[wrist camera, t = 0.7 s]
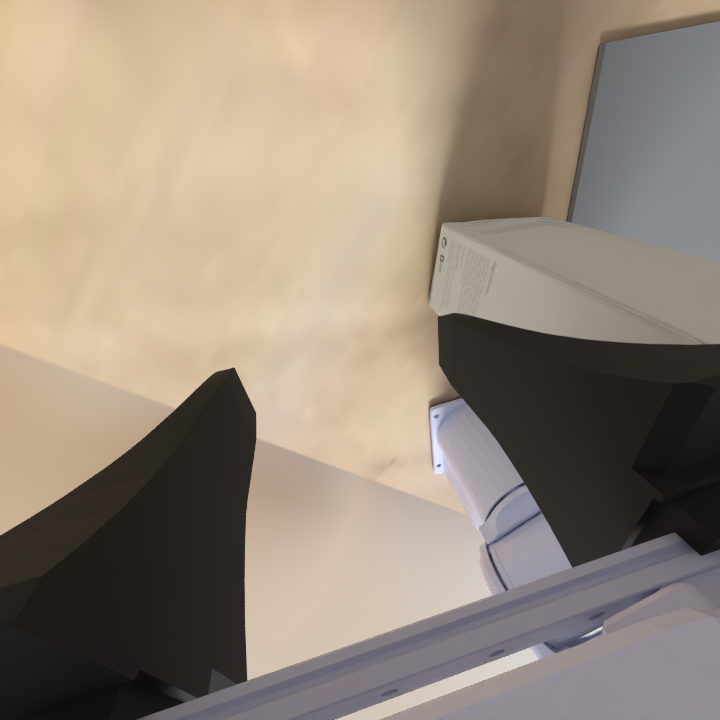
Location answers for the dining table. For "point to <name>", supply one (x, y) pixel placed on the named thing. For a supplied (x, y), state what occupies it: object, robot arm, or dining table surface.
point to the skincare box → (575, 282)
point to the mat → (654, 142)
